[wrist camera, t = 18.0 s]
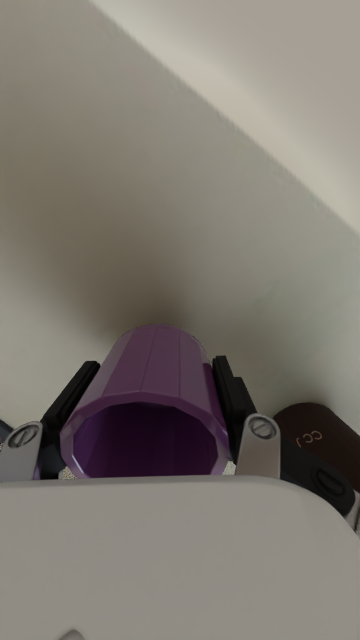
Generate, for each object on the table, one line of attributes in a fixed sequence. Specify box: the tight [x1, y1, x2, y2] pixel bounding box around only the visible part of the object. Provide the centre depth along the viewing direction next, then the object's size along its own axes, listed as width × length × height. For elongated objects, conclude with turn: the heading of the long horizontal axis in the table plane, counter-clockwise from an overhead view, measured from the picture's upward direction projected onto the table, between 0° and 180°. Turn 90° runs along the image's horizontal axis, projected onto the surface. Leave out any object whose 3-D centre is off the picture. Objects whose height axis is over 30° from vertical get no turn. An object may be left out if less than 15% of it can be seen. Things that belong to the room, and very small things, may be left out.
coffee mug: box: [273, 403, 360, 493], centre depth 14 cm, size 12×9×10 cm
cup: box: [60, 324, 230, 479], centre depth 10 cm, size 7×7×6 cm
